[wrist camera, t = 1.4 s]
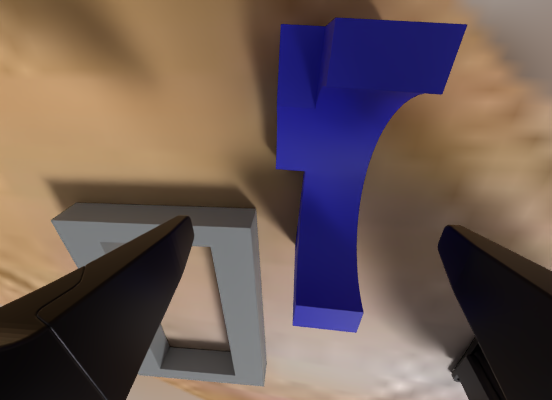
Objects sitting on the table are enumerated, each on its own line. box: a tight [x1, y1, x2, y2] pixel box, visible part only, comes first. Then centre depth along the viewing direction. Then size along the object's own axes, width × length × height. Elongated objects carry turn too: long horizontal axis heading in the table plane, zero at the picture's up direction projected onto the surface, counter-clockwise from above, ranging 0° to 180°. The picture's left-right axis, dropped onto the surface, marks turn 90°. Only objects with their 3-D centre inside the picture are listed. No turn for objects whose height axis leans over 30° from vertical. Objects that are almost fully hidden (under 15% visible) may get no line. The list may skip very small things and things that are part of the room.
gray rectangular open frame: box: [51, 203, 267, 386], centre depth 20 cm, size 12×18×2 cm, turn 1°
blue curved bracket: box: [276, 18, 467, 333], centre depth 12 cm, size 12×4×6 cm, turn 177°
